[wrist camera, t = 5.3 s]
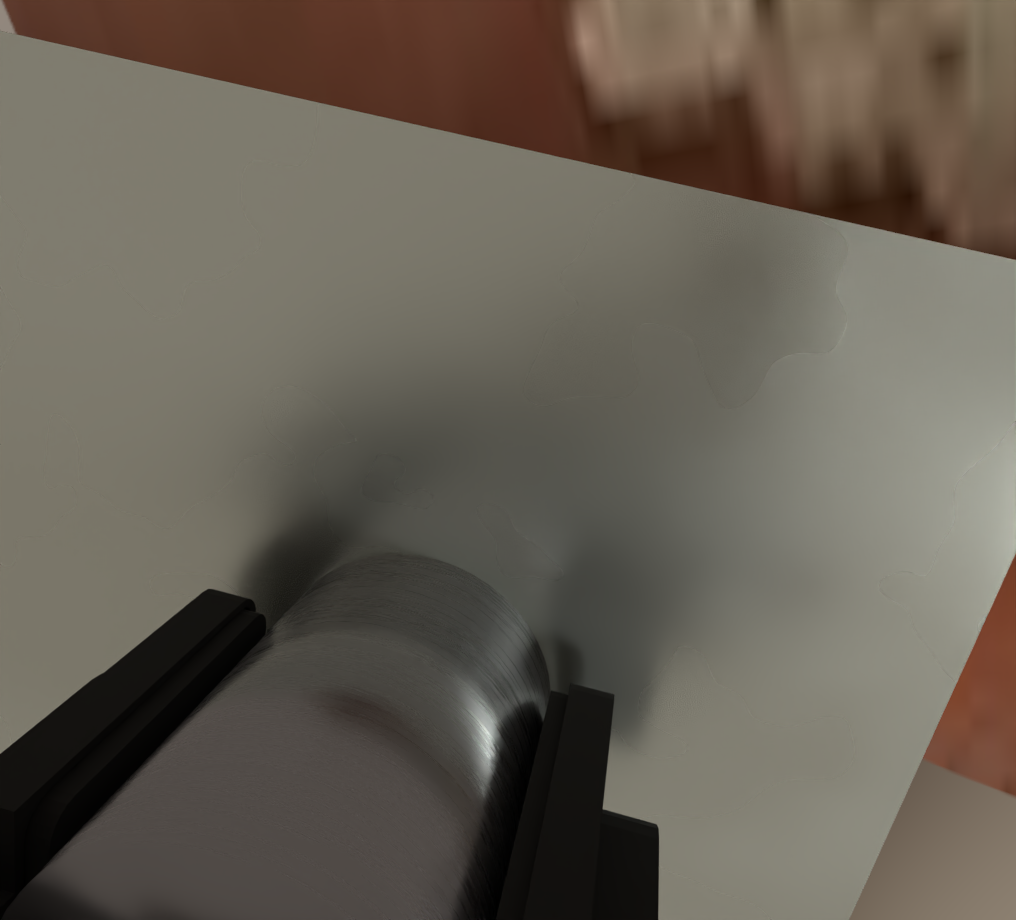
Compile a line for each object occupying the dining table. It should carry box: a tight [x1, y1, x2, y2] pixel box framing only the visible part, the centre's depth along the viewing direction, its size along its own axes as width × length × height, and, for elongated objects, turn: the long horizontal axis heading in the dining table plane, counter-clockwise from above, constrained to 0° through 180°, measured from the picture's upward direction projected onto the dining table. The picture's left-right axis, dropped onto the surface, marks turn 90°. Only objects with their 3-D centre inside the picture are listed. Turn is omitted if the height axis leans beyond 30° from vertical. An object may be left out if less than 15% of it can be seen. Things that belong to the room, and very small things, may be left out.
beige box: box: [0, 31, 1016, 920], centre depth 17 cm, size 12×13×23 cm
